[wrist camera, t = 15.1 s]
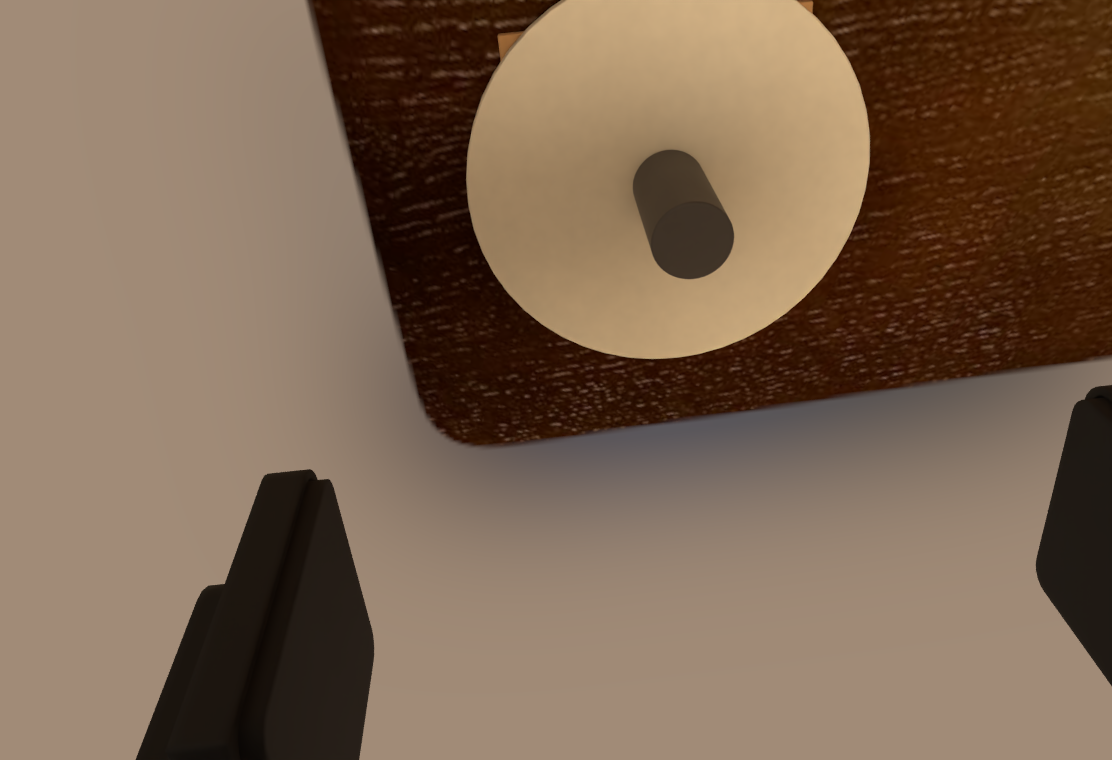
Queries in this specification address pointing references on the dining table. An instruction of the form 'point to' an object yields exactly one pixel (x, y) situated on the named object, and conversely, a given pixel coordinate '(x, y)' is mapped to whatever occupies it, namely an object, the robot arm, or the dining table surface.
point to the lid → (667, 169)
